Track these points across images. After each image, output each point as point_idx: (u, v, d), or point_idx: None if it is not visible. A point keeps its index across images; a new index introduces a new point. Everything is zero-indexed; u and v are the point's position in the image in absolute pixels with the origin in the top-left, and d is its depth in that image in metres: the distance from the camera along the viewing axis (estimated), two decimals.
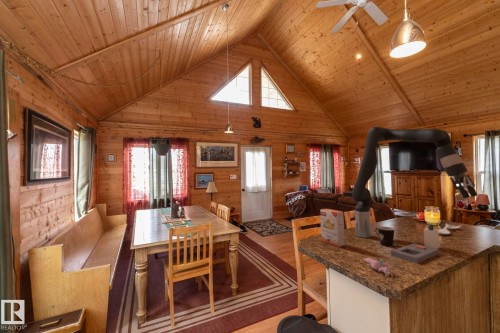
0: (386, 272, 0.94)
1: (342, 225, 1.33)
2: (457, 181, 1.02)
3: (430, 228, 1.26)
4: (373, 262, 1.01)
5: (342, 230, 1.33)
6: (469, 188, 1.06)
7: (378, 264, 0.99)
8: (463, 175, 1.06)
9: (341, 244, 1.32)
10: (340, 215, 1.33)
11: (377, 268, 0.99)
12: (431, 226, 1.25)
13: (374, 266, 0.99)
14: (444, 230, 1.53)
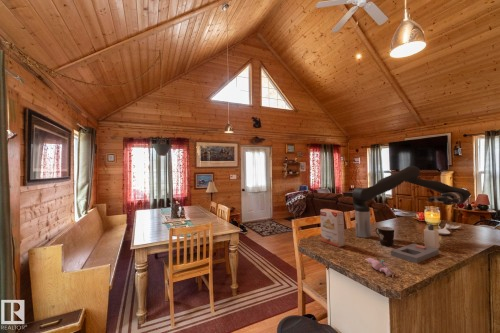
0: (387, 272, 0.94)
1: (342, 225, 1.33)
2: (458, 202, 1.30)
3: (430, 228, 1.26)
4: (374, 262, 1.00)
5: (342, 230, 1.33)
6: (433, 199, 1.38)
7: (379, 264, 0.99)
8: None
9: (341, 244, 1.32)
10: (340, 215, 1.33)
11: (378, 268, 0.99)
12: (431, 226, 1.26)
13: (375, 266, 0.99)
14: (444, 230, 1.53)
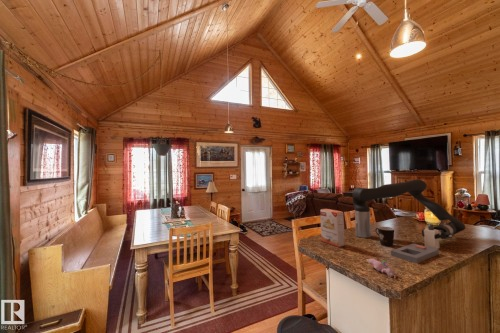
0: (389, 273, 0.93)
1: (342, 225, 1.33)
2: (448, 237, 1.23)
3: (430, 228, 1.26)
4: (376, 263, 1.00)
5: (342, 230, 1.33)
6: None
7: (381, 265, 0.98)
8: None
9: (341, 244, 1.32)
10: (340, 215, 1.33)
11: (380, 269, 0.98)
12: (431, 226, 1.25)
13: (377, 267, 0.98)
14: None
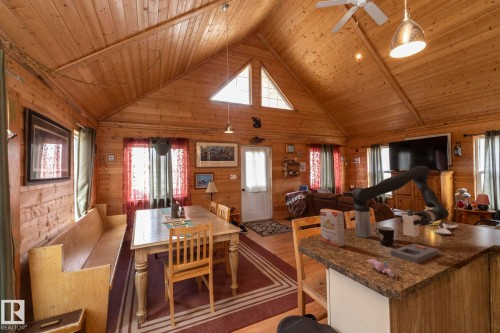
0: (390, 274, 0.93)
1: (342, 225, 1.33)
2: (429, 223, 1.12)
3: (409, 214, 1.15)
4: (377, 263, 0.99)
5: (342, 230, 1.33)
6: None
7: (382, 265, 0.98)
8: None
9: (341, 244, 1.32)
10: (340, 215, 1.33)
11: (381, 269, 0.97)
12: (410, 211, 1.15)
13: (378, 267, 0.98)
14: (444, 230, 1.54)
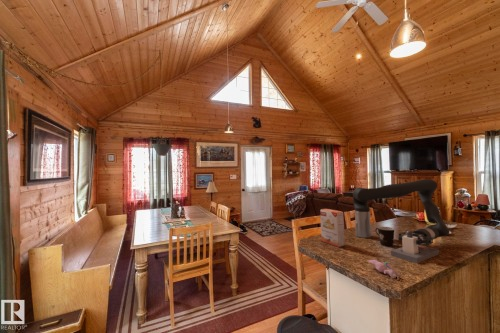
0: (392, 274, 0.92)
1: (342, 225, 1.33)
2: (431, 242, 1.11)
3: (409, 235, 1.14)
4: (378, 264, 0.98)
5: (342, 230, 1.33)
6: None
7: (383, 266, 0.97)
8: None
9: (341, 244, 1.32)
10: (340, 215, 1.33)
11: (382, 270, 0.97)
12: (410, 233, 1.14)
13: (379, 268, 0.97)
14: None
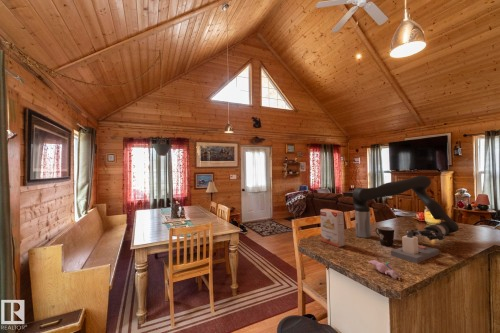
0: (393, 275, 0.92)
1: (342, 225, 1.33)
2: (443, 238, 1.17)
3: (409, 235, 1.14)
4: (379, 265, 0.98)
5: (342, 230, 1.33)
6: (415, 233, 1.25)
7: (384, 267, 0.96)
8: None
9: (341, 244, 1.32)
10: (340, 215, 1.33)
11: (383, 271, 0.96)
12: (410, 233, 1.14)
13: (380, 269, 0.96)
14: None
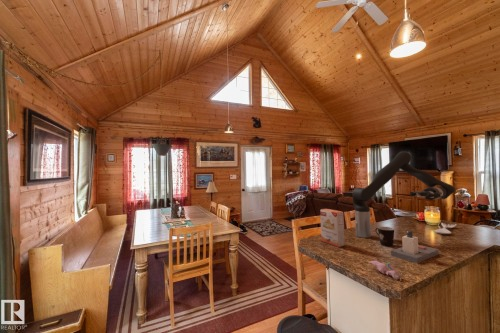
0: (394, 276, 0.91)
1: (342, 225, 1.33)
2: (440, 196, 1.24)
3: (409, 235, 1.14)
4: (380, 265, 0.97)
5: (342, 230, 1.33)
6: (414, 193, 1.32)
7: (385, 267, 0.96)
8: (425, 195, 1.33)
9: (341, 244, 1.32)
10: (340, 215, 1.33)
11: (384, 271, 0.96)
12: (410, 233, 1.14)
13: (381, 269, 0.96)
14: (444, 229, 1.54)
